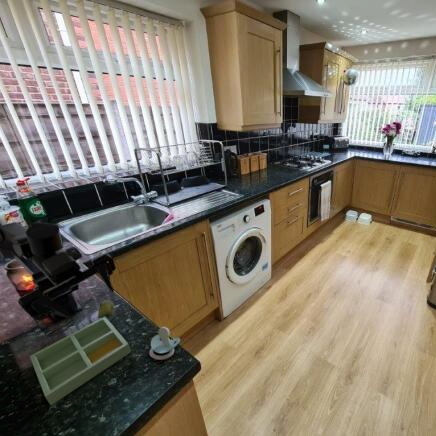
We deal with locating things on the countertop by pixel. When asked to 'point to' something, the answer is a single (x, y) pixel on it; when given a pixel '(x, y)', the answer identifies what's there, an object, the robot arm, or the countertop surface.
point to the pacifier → (163, 344)
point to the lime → (106, 308)
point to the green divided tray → (78, 358)
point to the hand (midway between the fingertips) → (93, 303)
